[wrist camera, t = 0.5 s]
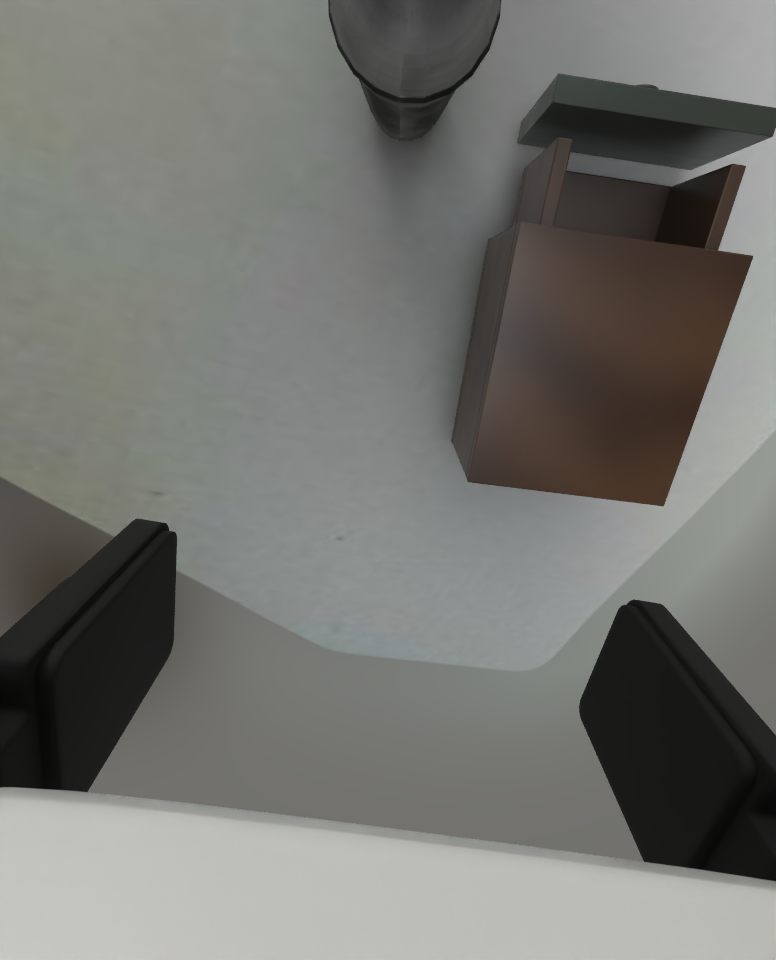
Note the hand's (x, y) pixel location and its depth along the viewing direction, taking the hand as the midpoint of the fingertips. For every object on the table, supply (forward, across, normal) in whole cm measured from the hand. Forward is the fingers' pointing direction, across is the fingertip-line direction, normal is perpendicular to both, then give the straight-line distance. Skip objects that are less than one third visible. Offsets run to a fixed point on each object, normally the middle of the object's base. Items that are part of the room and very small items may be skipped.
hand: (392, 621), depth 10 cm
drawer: (+28, -11, -12) cm, 33 cm away
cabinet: (+29, -12, -4) cm, 32 cm away
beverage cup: (+30, +2, -18) cm, 34 cm away
